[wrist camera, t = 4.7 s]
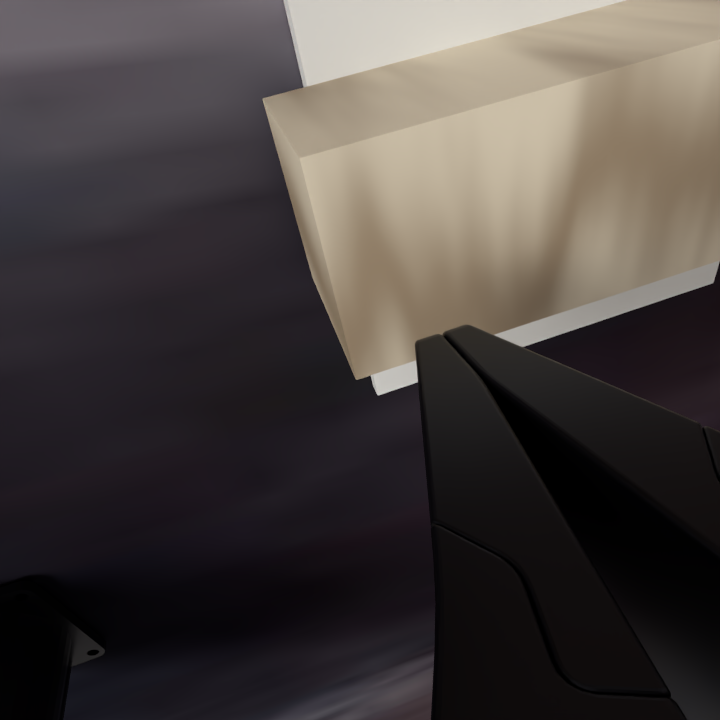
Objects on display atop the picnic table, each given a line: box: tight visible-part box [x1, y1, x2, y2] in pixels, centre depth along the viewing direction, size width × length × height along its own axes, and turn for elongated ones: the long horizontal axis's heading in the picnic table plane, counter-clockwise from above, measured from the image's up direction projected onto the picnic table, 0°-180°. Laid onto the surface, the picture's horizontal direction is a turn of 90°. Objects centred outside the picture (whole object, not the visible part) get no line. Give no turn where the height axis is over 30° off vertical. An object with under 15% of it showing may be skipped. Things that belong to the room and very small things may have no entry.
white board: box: [284, 0, 720, 395], centre depth 15 cm, size 16×14×1 cm
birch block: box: [263, 0, 720, 380], centre depth 13 cm, size 5×5×12 cm
